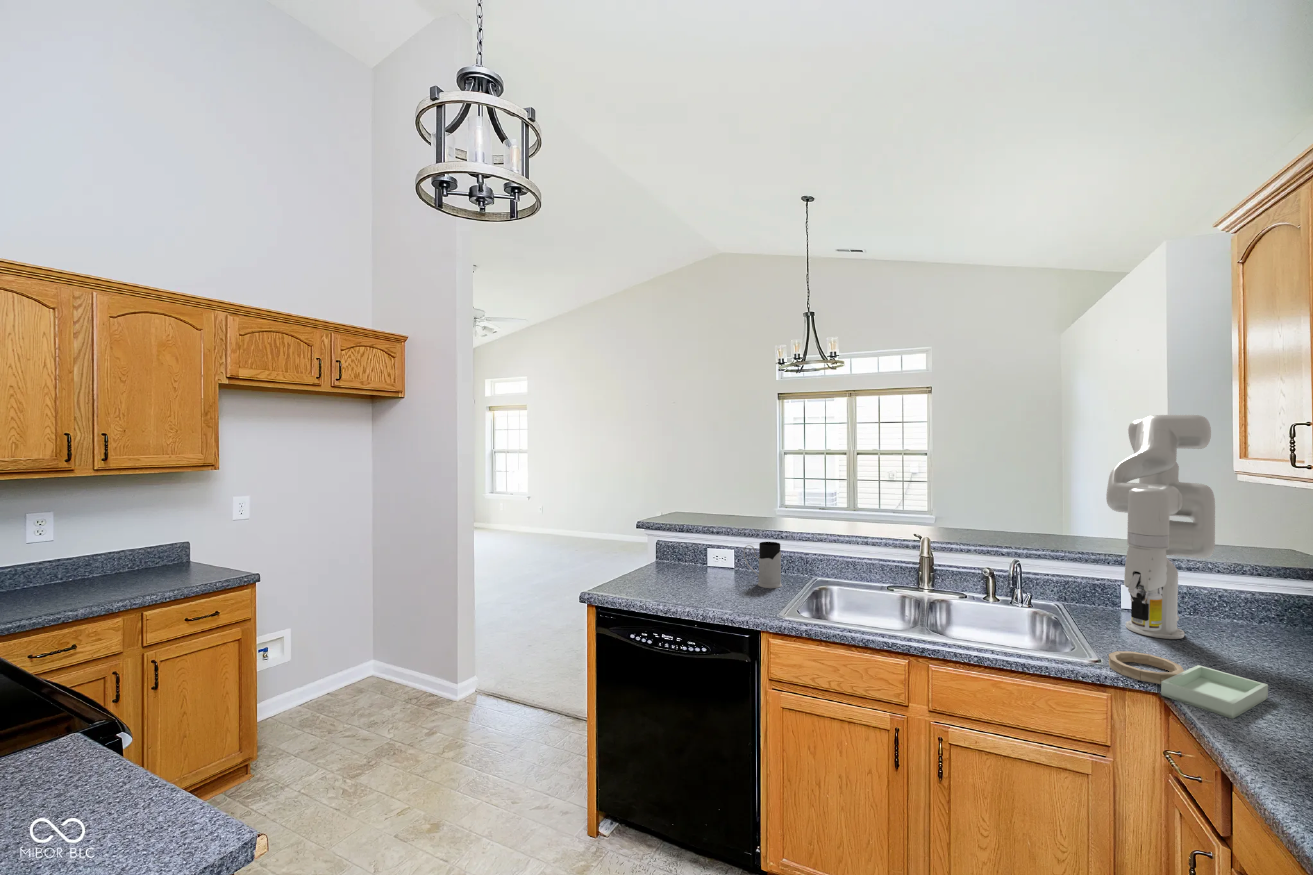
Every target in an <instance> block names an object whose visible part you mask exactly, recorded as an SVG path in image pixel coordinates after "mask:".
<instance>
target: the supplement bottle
mask: <svg viewBox="0 0 1313 875" xmlns="http://www.w3.org/2000/svg"><path fill="white" fill-rule="evenodd" d="M1138 588H1139V589H1143V588H1144V587H1140V586H1139V587H1138ZM1143 590H1144V589H1143ZM1138 593H1141V595H1142V597H1143V592H1139V591H1138ZM1147 604H1149V620H1147V621H1144V620H1140V619H1136V618H1133V617H1131V616H1130V617H1131V619H1130V621H1131V622H1132V625H1133V626H1135V627H1137V628H1140V629H1144V630H1150V631H1157V630H1160V629H1161V628H1162V596H1161V595H1160V594H1159V593H1158V589H1155V590H1152V591H1149V593H1148V599H1147Z"/></svg>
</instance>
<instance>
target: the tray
mask: <svg viewBox="0 0 1313 875" xmlns="http://www.w3.org/2000/svg"><path fill="white" fill-rule="evenodd" d="M1160 685H1161V688H1160V695H1161V696H1162V697H1164V698H1169V699H1170V700H1174V701H1177V702H1180V703H1183V704H1187V705H1189V706H1193V707H1196V708H1198V709H1200V710H1201V709H1202V710H1205V711H1207V712H1211V713H1214V714H1217V715H1218V716H1219V715H1220V716H1221V717H1222V716H1223V717H1225V718H1229V719H1231V720H1234V719H1235V718H1237V717H1239V716H1241V715H1242V714H1243V713H1245V712H1247V711H1249V710H1250V709H1253V708H1254V707H1256V706H1258V705H1259V704H1260V703H1263V702H1264V701H1266V700H1267V699H1268V698H1269V696H1268V695H1269V684H1267V683H1263V682H1259V681H1256V680H1253V679H1251V678H1250V679H1249V678H1245V677H1242V676H1239V675H1235V674H1231V673H1228V672H1224V671H1221V670H1217V669H1214V668H1210V667H1206V666H1205V665H1204V666H1203V665H1199V664H1197V665H1195V666H1193V667H1191V668H1188V669H1186V670H1184V672H1181V673H1179V674H1177V675H1175V676H1173V677H1170V678H1168V679H1166V680H1164V681H1161V684H1160Z"/></svg>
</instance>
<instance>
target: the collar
mask: <svg viewBox="0 0 1313 875" xmlns="http://www.w3.org/2000/svg"><path fill="white" fill-rule="evenodd" d="M1126 663H1134V664H1135V663H1137V664H1142V665H1148V666H1152V667H1155V668H1159V669H1162V670H1164V669H1165V670H1164V671H1165V672H1164V671H1155V670H1146V669H1141V668H1139V667H1135V666H1131V665H1128V664H1126ZM1108 665H1109V668H1110V669H1111V670H1112V671H1114V672H1117V673H1119V674H1120V675H1122V676H1124V677H1129V678H1132V679H1135V680H1138V681H1143V682H1147V683H1152V684H1153V683H1154V684H1158V685H1161V681H1164V680H1166V679H1168V678H1170V677H1173V676H1175V675H1177V674H1179V673H1181V672H1184V671H1185V670H1184V668H1183V667H1182V665H1180V664H1178V663H1176V662H1174V661H1172V660H1170V659H1168V658H1165V657H1164V658H1163V657H1161V656H1157V655H1153V654H1150V653H1143V652H1137V651H1132V650H1131V651H1130V650H1128V651H1127V650H1126V651H1124V650H1120V651H1118V650H1117V651H1114V652H1113V651H1112V652H1110V653H1108ZM1166 670H1168V671H1169V672H1168V671H1166Z"/></svg>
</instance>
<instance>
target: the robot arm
mask: <svg viewBox="0 0 1313 875" xmlns="http://www.w3.org/2000/svg"><path fill="white" fill-rule="evenodd" d="M1127 430H1128V439H1129V443H1130V446H1131V448H1132V450H1133V454H1132V455H1129V456H1127V457H1126V458H1124V459H1123V460H1121V461H1120V462H1119V463H1118V464H1117V465H1115V466H1114V467H1113V469H1112V470H1111V472H1110V474H1109V476H1108V482H1107V487H1106V494H1105V495H1106V504H1107V506H1108V507H1109V509H1110V510H1112V511H1114V512H1118V513H1124V514H1125V513H1127V534H1126V535H1127V538H1126V539H1127V541H1126V542H1127V544H1126V545H1127V546H1128V547H1127V552H1126V558H1125V565H1124V566H1125V567H1124V576H1123V577H1124V580H1123V584H1124V587H1125V588H1128V589H1127V591H1128V593H1129V595H1130V602H1131V607H1130V613H1131V614H1130V615H1131V616H1130V617H1133V618H1136V619H1140V620H1144V621H1147V620H1149V604H1147V599H1148V593H1149V591H1152V590H1155V589H1158V593H1159V594H1160V595H1161V596H1162V628H1161V629H1160V630H1157V631H1150V630H1144V629H1140V628H1137V627H1135V626H1133V625H1132V622H1131V620H1127V621H1126V622H1125V627H1126V628H1127V629H1128V630H1129V631H1131V632H1134V633H1136V634H1139V635H1143V636H1146V637H1147V636H1148V637H1151V638H1157V639H1164V640H1165V639H1166V640H1180V639H1183V638H1184V637H1185V631H1184V630H1183V629H1181V628H1178V621H1179V620H1180V616H1179V615H1178V598H1179V597H1178V595H1179V591H1178V590H1179V572H1178V569H1177V567H1176V566H1175V564H1174V563H1173V562H1172V561H1171V560H1170V559H1169V557H1167V556H1177V557H1183V558H1185V557H1186V558H1191V559H1192V558H1193V559H1209V558H1210V557H1212V556H1213V554H1214V552H1215V544H1216V500H1215V494H1214V492H1213V490H1212V487H1210V486H1209V485H1206V484H1205V483H1198V482H1181V481H1180V480H1179V470H1180V467H1179V464H1178V462H1177V457H1178V456H1177V454H1178V452H1177V449H1185V450H1186V449H1188V450H1189V449H1190V450H1192V449H1193V450H1203V449H1204V448H1206V447H1208V446H1209V444H1210V441H1211V438H1212V428H1211V424H1210V422H1209V420H1208V419H1207V417H1205V416H1204V415H1203V416H1202V415H1199V414H1154V415H1149V416H1147V417H1143V418H1139V419H1135V420H1133V421H1132V422H1130V423H1129V425H1128V429H1127ZM1138 479H1139V480H1138ZM1135 480H1138V482H1131V481H1135ZM1170 517H1182V518H1188V519H1190V520H1191V521H1181V520H1180V521H1179V520H1173V519H1172V520H1171V519H1170ZM1139 586H1140V587H1144V588H1143V589H1144V590H1143V589H1139V588H1138V587H1139ZM1138 591H1139V592H1143V597H1142V595H1141V593H1138Z"/></svg>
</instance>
